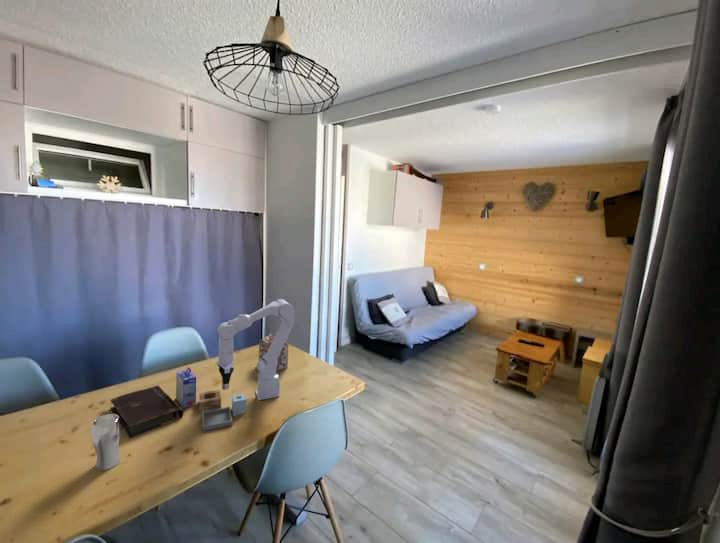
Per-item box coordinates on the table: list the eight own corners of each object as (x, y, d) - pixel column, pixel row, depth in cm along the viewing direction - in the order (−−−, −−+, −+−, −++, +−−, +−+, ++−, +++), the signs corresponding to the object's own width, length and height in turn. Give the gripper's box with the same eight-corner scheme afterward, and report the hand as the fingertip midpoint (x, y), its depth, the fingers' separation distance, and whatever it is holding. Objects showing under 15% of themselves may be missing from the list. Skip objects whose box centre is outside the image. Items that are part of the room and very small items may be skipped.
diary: (160, 394, 142) (160, 384, 142) (183, 419, 127) (183, 407, 126) (107, 410, 128) (107, 399, 128) (126, 440, 112) (126, 427, 112)
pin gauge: (228, 385, 138) (229, 368, 137) (229, 389, 136) (229, 371, 135) (221, 387, 137) (221, 369, 136) (222, 390, 135) (222, 372, 133)
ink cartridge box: (197, 404, 136) (196, 372, 134) (182, 408, 132) (182, 375, 130) (189, 394, 143) (189, 363, 141) (175, 398, 139) (174, 367, 137)
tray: (229, 411, 132) (229, 406, 132) (232, 425, 123) (232, 420, 123) (202, 416, 128) (202, 411, 127) (202, 432, 119) (202, 427, 118)
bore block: (219, 397, 141) (219, 389, 141) (221, 407, 134) (221, 398, 134) (199, 401, 138) (199, 392, 137) (199, 411, 131) (199, 402, 130)
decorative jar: (258, 365, 175) (258, 333, 172) (277, 360, 183) (278, 329, 180) (268, 373, 166) (269, 340, 163) (288, 367, 174) (289, 336, 171)
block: (244, 406, 136) (244, 393, 135) (246, 413, 132) (246, 399, 131) (231, 408, 134) (231, 395, 133) (233, 415, 130) (233, 401, 129)
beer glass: (104, 455, 105) (101, 413, 102) (126, 455, 105) (124, 413, 103) (88, 472, 98) (84, 427, 95) (112, 471, 98) (109, 427, 96)
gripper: (214, 346, 139) (214, 375, 141) (216, 359, 126) (216, 391, 128) (232, 344, 142) (231, 373, 144) (235, 357, 129) (235, 388, 131)
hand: (225, 381), depth 136 cm, fingers closed on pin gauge, 3 cm apart
